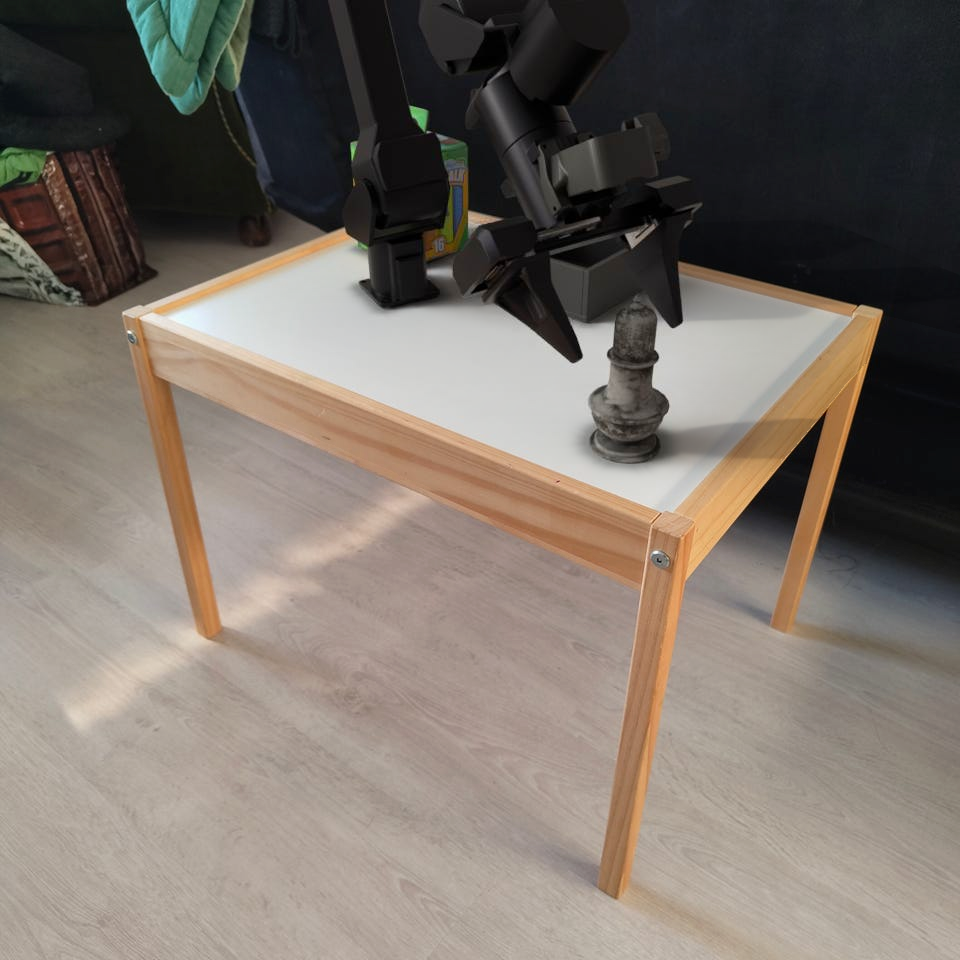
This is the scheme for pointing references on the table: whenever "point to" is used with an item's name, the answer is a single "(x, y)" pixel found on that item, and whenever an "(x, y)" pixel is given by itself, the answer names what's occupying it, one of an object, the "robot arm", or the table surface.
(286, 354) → the table surface
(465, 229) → the chalk box
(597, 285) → the basket
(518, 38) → the robot arm
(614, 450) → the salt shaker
